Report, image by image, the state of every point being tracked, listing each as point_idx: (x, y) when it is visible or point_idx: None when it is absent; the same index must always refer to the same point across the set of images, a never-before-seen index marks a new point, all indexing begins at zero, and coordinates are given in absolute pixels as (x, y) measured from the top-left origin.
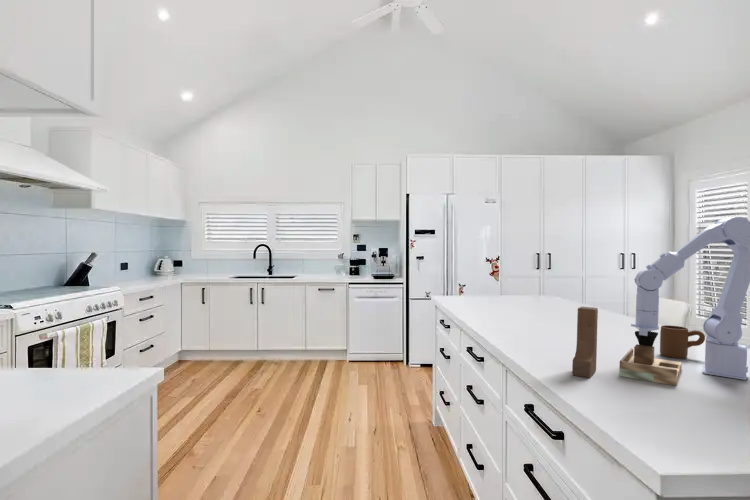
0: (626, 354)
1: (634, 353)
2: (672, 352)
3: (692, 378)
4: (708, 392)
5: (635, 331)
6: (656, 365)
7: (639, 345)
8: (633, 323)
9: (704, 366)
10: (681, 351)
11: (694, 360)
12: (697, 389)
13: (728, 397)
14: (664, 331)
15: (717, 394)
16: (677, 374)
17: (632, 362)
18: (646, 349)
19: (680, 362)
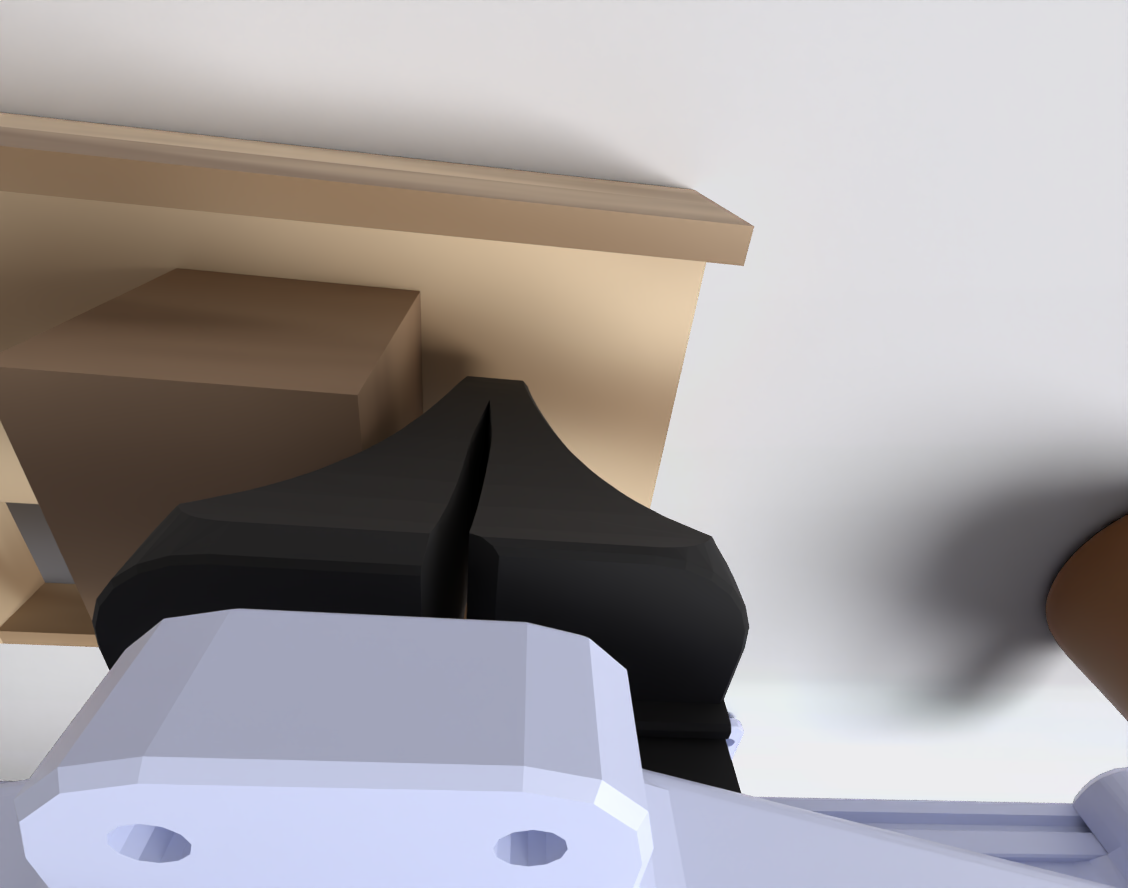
0: (65, 167)
1: (85, 320)
2: (1096, 607)
3: None
4: (3, 716)
5: (321, 573)
6: None
7: (273, 446)
8: (608, 857)
9: (735, 731)
10: (1091, 675)
11: (1002, 679)
12: (10, 677)
13: (4, 775)
14: None
15: (11, 744)
16: (37, 644)
17: (161, 250)
18: (77, 542)
19: None
